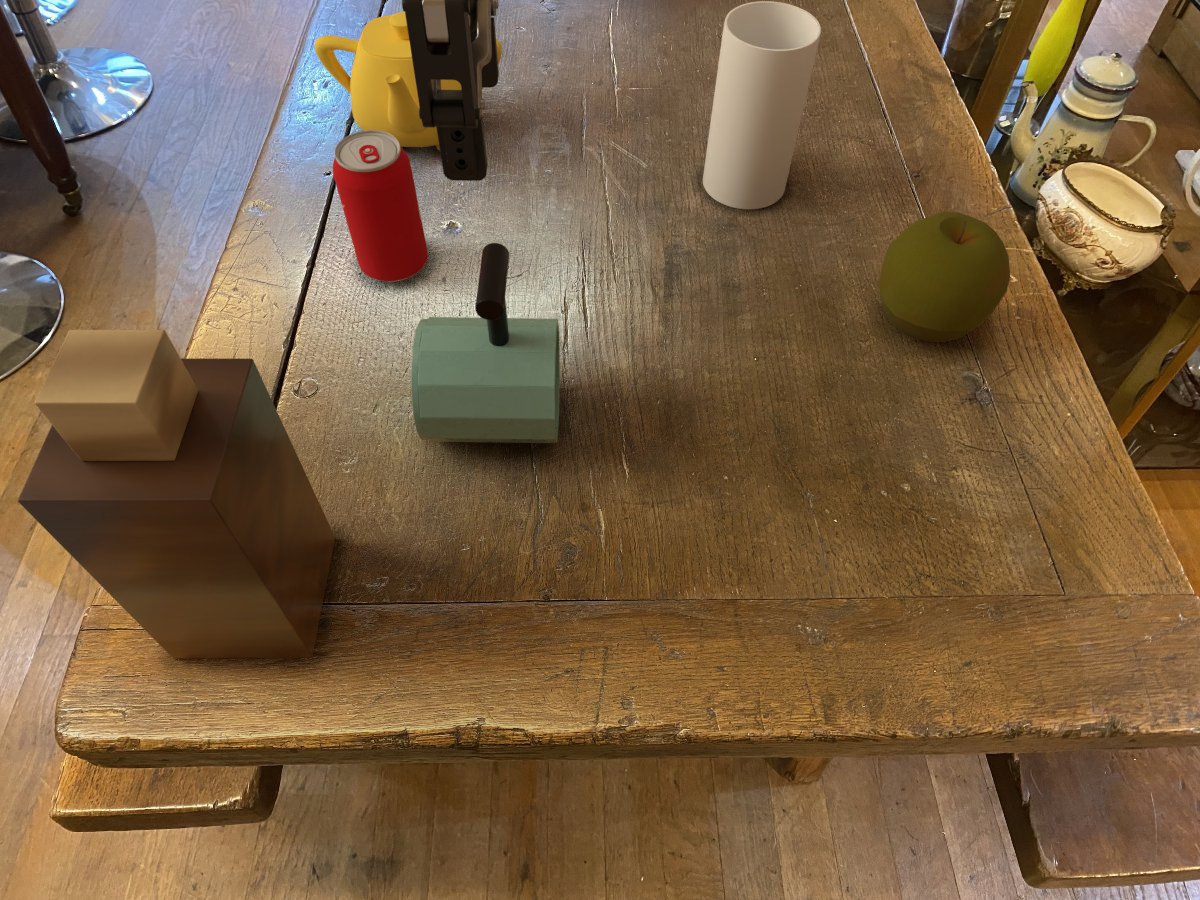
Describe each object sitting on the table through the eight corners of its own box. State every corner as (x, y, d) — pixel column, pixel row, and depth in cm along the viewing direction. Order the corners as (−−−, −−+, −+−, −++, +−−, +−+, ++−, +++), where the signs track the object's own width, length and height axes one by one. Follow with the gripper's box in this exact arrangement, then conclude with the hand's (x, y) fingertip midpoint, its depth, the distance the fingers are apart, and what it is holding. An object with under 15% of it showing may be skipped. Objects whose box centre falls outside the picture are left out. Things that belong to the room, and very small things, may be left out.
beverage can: (419, 235, 80) (397, 119, 70) (436, 278, 77) (415, 163, 67) (353, 250, 79) (321, 134, 69) (367, 294, 75) (335, 180, 66)
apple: (876, 362, 72) (918, 262, 63) (854, 282, 77) (889, 180, 68) (994, 362, 72) (1053, 262, 63) (963, 282, 78) (1012, 180, 69)
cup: (687, 171, 86) (706, 13, 74) (755, 150, 89) (785, -7, 76) (731, 218, 82) (759, 59, 69) (801, 195, 85) (841, 37, 72)
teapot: (322, 135, 89) (291, 21, 80) (426, 79, 96) (408, -32, 86) (411, 192, 84) (389, 78, 74) (514, 129, 90) (506, 17, 81)
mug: (387, 319, 52) (551, 321, 52) (407, 223, 58) (556, 225, 58) (424, 463, 65) (556, 465, 65) (438, 373, 70) (560, 375, 70)
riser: (312, 658, 56) (210, 500, 40) (172, 659, 55) (16, 501, 40) (335, 537, 61) (253, 357, 46) (208, 538, 61) (81, 357, 45)
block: (175, 461, 42) (136, 403, 38) (81, 461, 41) (32, 402, 38) (199, 390, 44) (164, 329, 40) (111, 390, 44) (68, 328, 40)
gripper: (364, -295, 38) (420, 57, 51) (298, -172, 29) (385, 211, 43) (534, -292, 38) (546, 59, 51) (516, -168, 30) (536, 213, 43)
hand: (473, 128), depth 47 cm, fingers open, 8 cm apart
